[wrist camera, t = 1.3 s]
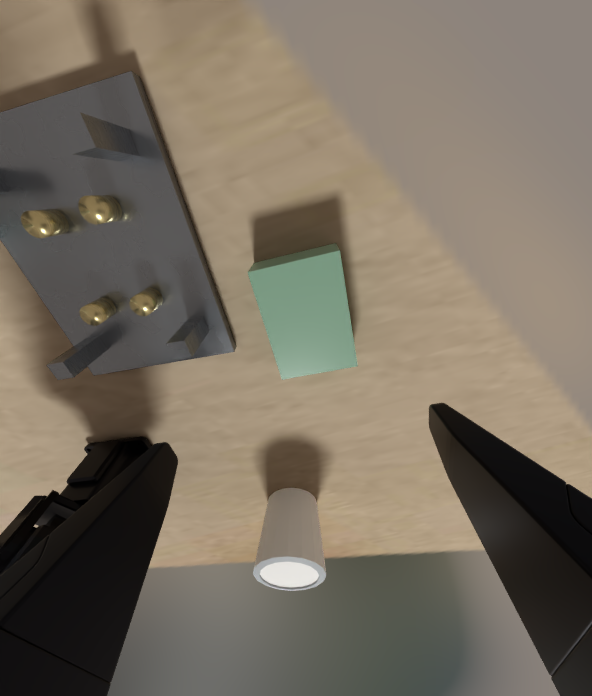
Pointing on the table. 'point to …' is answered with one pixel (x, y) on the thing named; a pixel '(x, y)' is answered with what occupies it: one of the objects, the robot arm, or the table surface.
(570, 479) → the table surface
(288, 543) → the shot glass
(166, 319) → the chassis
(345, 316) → the green rectangular block
